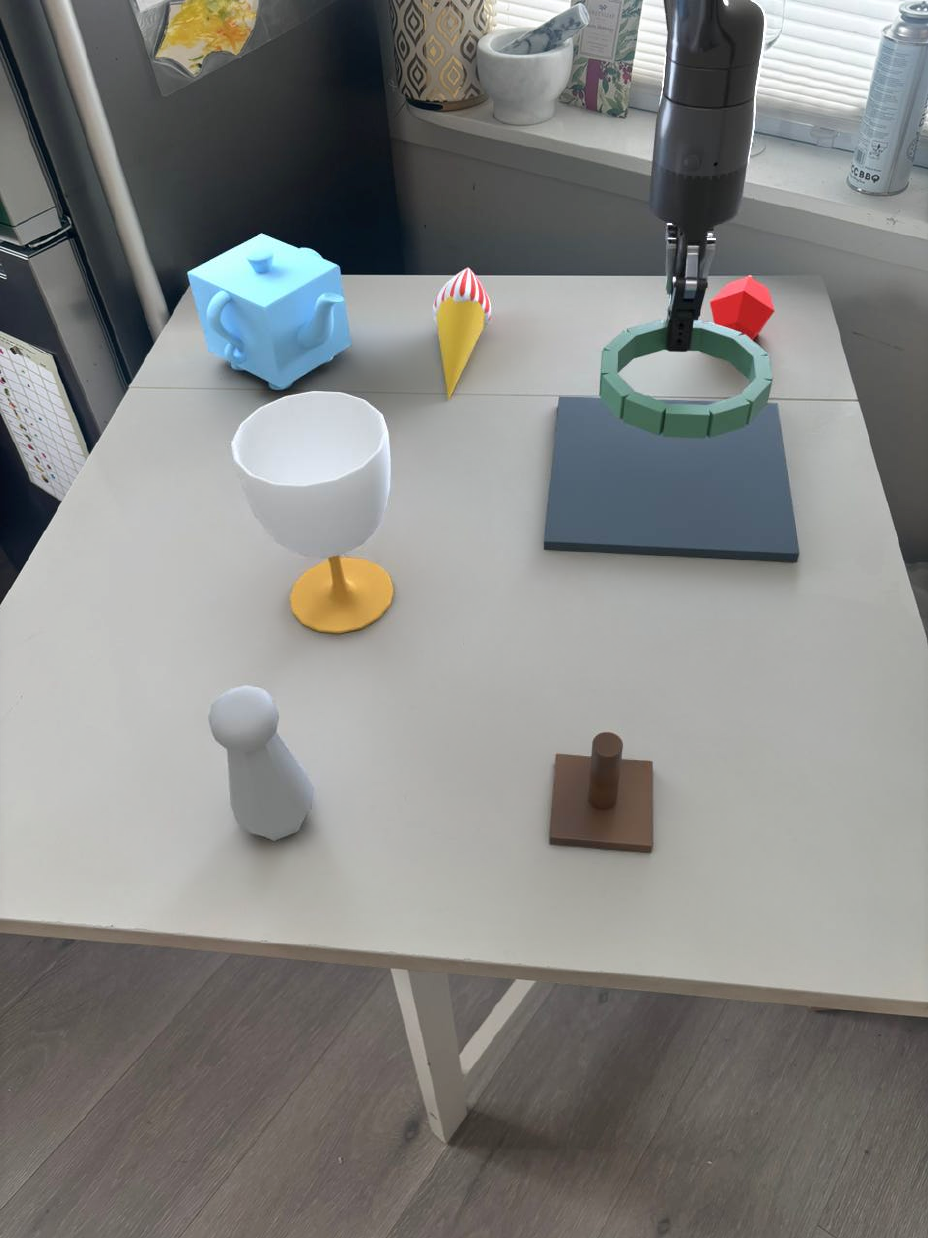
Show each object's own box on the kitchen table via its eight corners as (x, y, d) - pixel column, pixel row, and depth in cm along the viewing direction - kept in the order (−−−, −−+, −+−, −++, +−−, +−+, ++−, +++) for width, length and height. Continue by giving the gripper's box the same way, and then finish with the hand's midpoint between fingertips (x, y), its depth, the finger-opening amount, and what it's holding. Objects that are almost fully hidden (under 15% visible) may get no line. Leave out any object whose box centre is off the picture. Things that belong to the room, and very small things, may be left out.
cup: (299, 665, 81) (256, 506, 68) (257, 575, 88) (211, 417, 76) (430, 615, 84) (413, 455, 71) (379, 533, 91) (354, 374, 79)
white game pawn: (246, 780, 74) (204, 669, 64) (323, 780, 73) (291, 668, 64) (231, 851, 70) (184, 743, 60) (312, 851, 69) (277, 743, 60)
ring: (759, 345, 91) (764, 321, 89) (773, 441, 82) (778, 418, 80) (602, 339, 93) (603, 316, 91) (597, 434, 83) (598, 410, 82)
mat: (776, 411, 101) (777, 402, 100) (797, 562, 86) (799, 553, 85) (558, 404, 103) (558, 396, 103) (543, 549, 89) (543, 541, 88)
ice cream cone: (442, 427, 109) (462, 296, 118) (489, 408, 105) (505, 274, 115) (406, 394, 105) (429, 261, 114) (453, 372, 101) (473, 236, 110)
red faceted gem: (763, 318, 102) (780, 258, 105) (699, 318, 106) (716, 259, 108) (770, 361, 108) (786, 303, 111) (708, 359, 111) (725, 302, 114)
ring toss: (651, 768, 73) (661, 705, 67) (651, 853, 68) (662, 793, 62) (555, 760, 73) (557, 698, 68) (549, 844, 69) (550, 785, 63)
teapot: (193, 373, 111) (162, 265, 101) (296, 313, 118) (275, 207, 109) (304, 433, 102) (280, 320, 93) (406, 364, 110) (395, 253, 100)
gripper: (755, 190, 74) (722, 387, 86) (744, 116, 83) (715, 305, 95) (653, 189, 75) (635, 385, 87) (653, 116, 84) (636, 303, 96)
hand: (677, 342), depth 91 cm, fingers closed on ring, 1 cm apart
